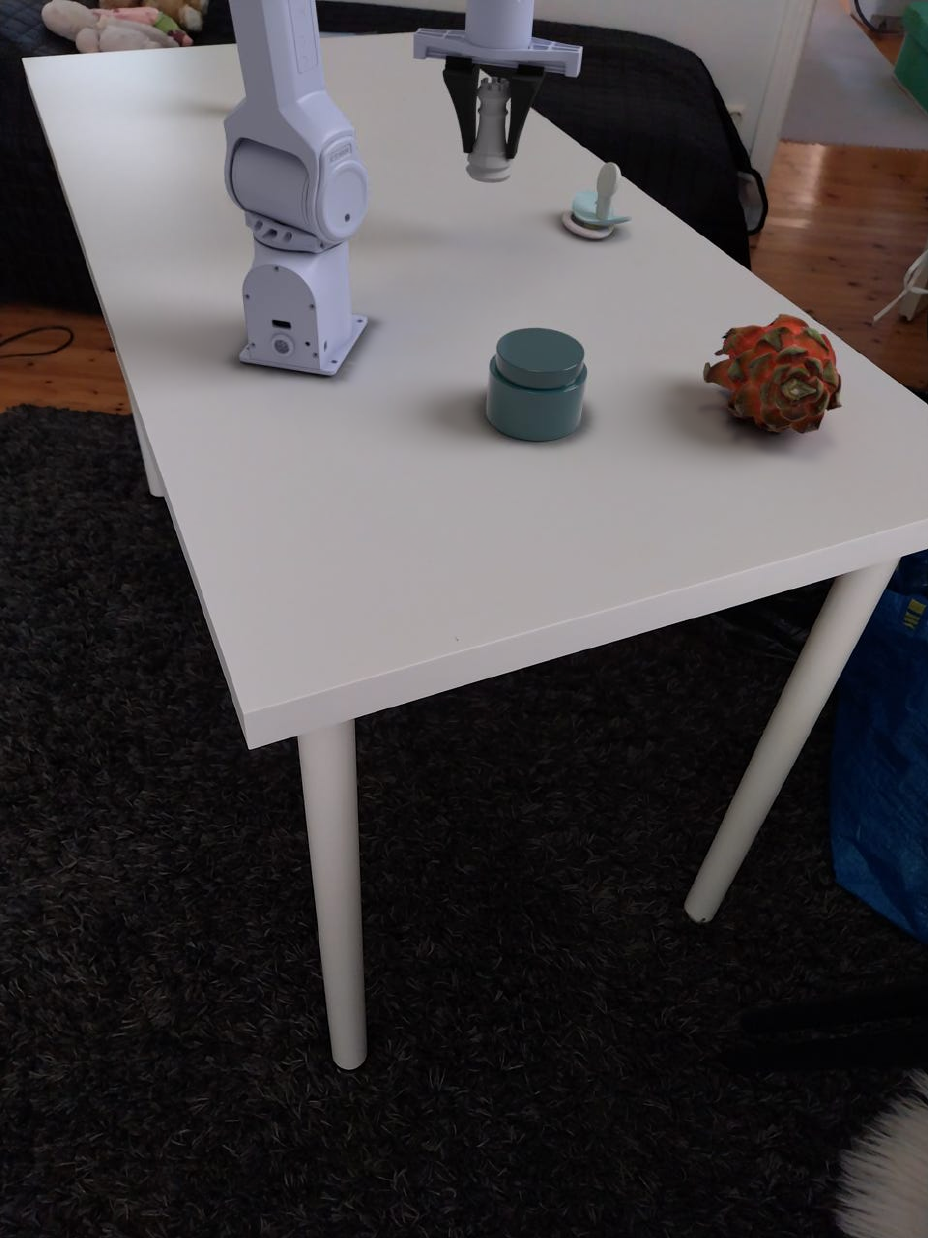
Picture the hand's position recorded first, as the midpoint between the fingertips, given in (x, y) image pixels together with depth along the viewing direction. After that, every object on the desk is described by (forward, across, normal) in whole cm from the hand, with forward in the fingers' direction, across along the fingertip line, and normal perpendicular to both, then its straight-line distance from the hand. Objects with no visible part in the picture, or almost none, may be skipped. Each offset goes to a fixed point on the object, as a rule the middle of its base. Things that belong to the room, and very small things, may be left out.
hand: (490, 152), depth 89 cm
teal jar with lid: (+8, -10, +29) cm, 32 cm away
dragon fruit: (+9, -27, +24) cm, 37 cm away
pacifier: (+8, -10, -7) cm, 15 cm away
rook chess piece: (+2, 0, 0) cm, 2 cm away
